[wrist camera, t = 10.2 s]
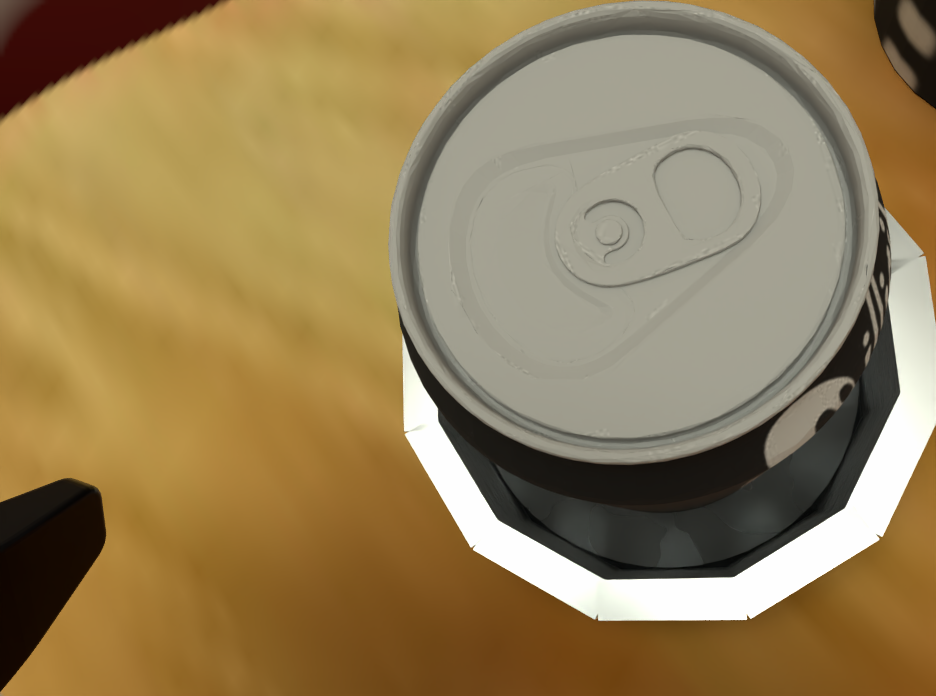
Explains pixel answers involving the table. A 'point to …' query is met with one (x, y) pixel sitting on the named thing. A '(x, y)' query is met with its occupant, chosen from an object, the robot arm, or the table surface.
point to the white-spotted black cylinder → (910, 41)
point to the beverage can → (639, 254)
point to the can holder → (721, 523)
